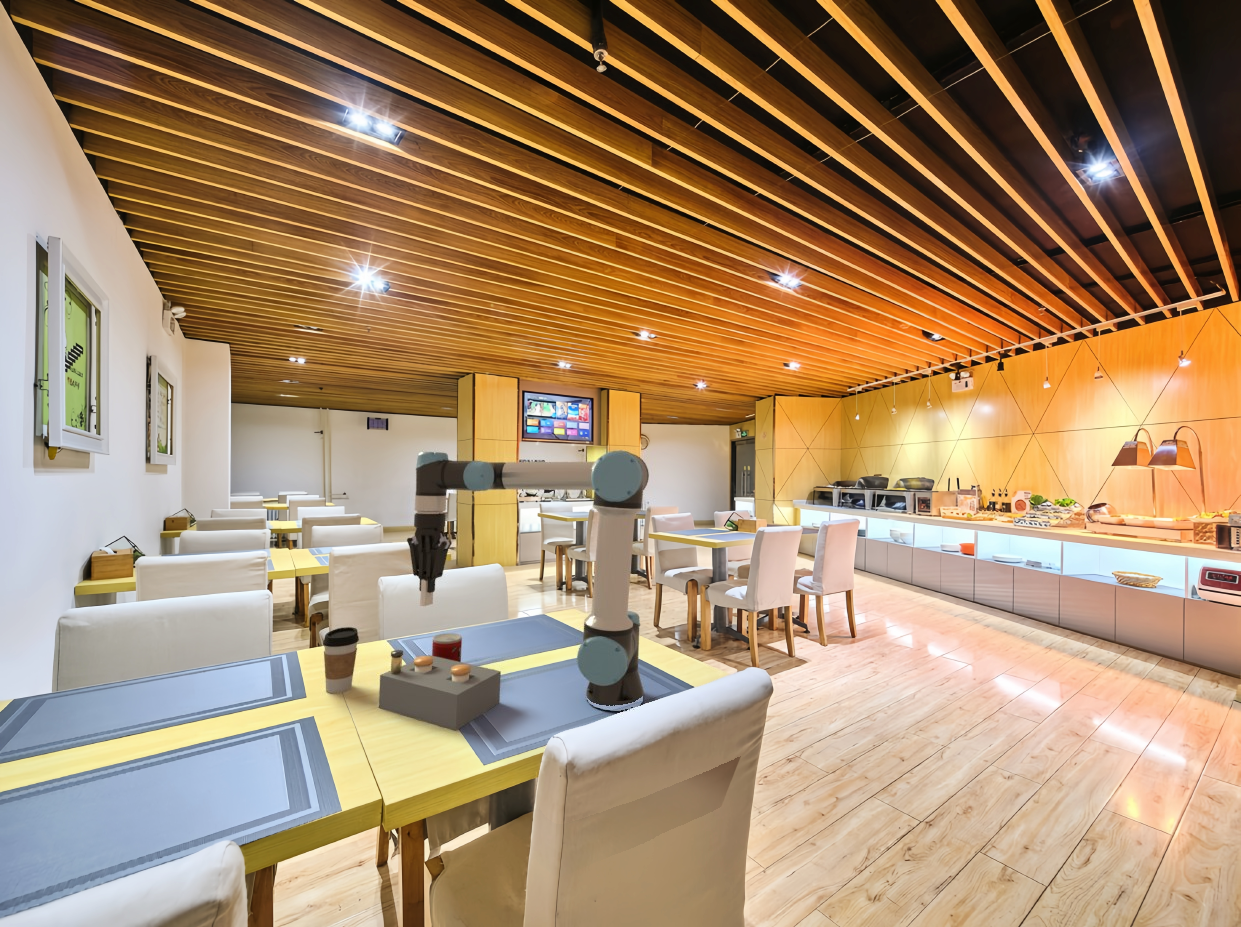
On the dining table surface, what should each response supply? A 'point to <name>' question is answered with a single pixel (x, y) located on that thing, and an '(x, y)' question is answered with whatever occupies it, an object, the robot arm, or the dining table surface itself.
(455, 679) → the knob
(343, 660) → the coffee cup
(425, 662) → the knob
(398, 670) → the small capped vial
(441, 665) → the grey vial rack
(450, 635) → the canned food
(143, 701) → the dining table surface
